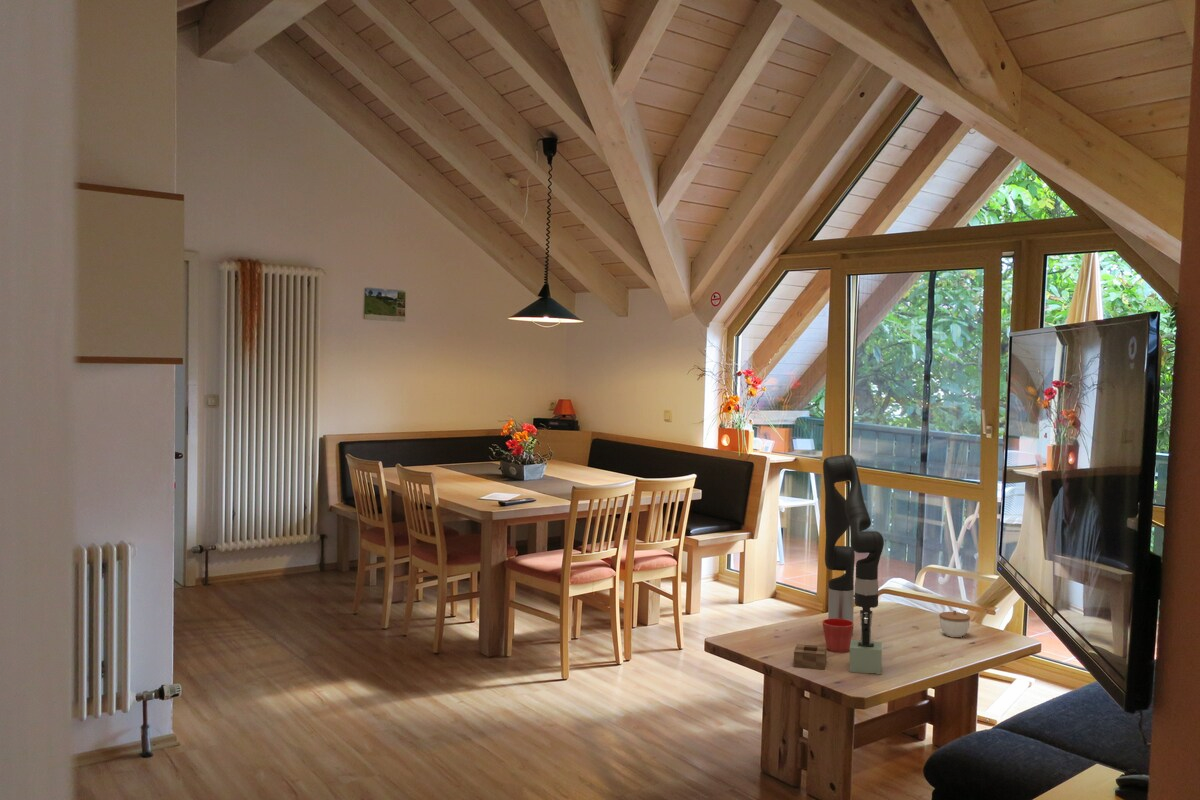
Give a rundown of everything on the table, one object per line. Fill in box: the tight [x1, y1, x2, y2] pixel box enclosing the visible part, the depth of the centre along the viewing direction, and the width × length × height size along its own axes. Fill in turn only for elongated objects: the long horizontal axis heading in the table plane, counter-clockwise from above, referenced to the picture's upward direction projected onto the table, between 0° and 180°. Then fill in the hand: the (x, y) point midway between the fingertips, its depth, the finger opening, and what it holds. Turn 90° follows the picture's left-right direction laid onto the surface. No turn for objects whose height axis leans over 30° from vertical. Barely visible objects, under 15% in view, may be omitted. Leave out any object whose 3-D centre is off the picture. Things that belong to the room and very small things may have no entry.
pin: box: [860, 625, 872, 647], centre depth 314 cm, size 3×3×14 cm
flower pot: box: [822, 618, 854, 653], centre depth 337 cm, size 11×11×10 cm
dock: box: [849, 639, 883, 675], centre depth 314 cm, size 10×10×8 cm
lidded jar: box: [939, 610, 971, 638], centre depth 356 cm, size 11×11×9 cm
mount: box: [793, 643, 828, 670], centre depth 319 cm, size 10×10×5 cm
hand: (865, 643), depth 314 cm, fingers closed on pin, 3 cm apart
